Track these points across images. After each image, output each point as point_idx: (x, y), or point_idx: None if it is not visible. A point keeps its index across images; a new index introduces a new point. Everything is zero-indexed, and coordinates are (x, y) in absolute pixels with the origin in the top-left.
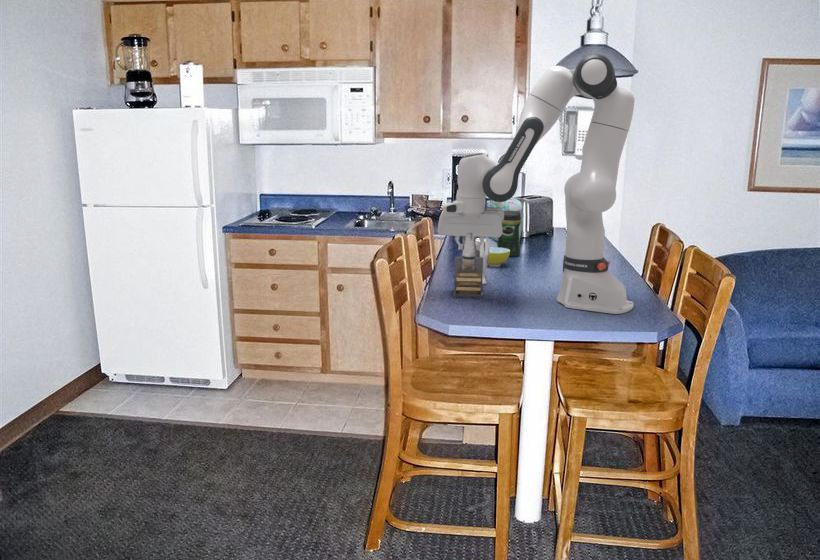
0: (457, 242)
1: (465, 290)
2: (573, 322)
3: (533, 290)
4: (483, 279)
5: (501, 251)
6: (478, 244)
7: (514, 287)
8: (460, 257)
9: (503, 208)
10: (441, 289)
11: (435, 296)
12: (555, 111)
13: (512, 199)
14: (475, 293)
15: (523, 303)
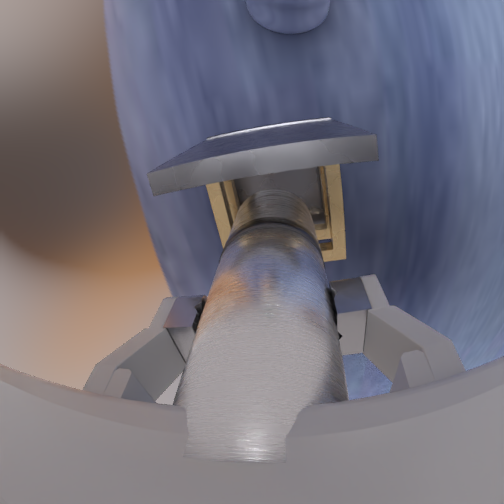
0: (156, 381)
1: (267, 187)
2: (485, 348)
3: (494, 97)
4: (320, 15)
5: None
6: (369, 345)
7: (441, 53)
8: (191, 185)
9: None
10: (162, 151)
11: (176, 250)
12: None
13: None
14: (314, 223)
15: (453, 259)
